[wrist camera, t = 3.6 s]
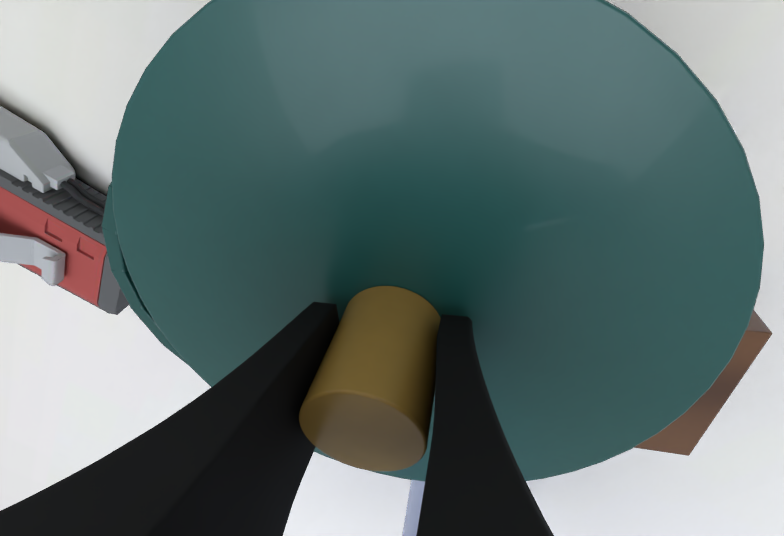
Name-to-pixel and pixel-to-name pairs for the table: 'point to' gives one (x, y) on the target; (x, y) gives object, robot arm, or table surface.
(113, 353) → the table surface
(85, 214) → the walkie-talkie
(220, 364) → the tin lid
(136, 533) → the robot arm
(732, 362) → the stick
